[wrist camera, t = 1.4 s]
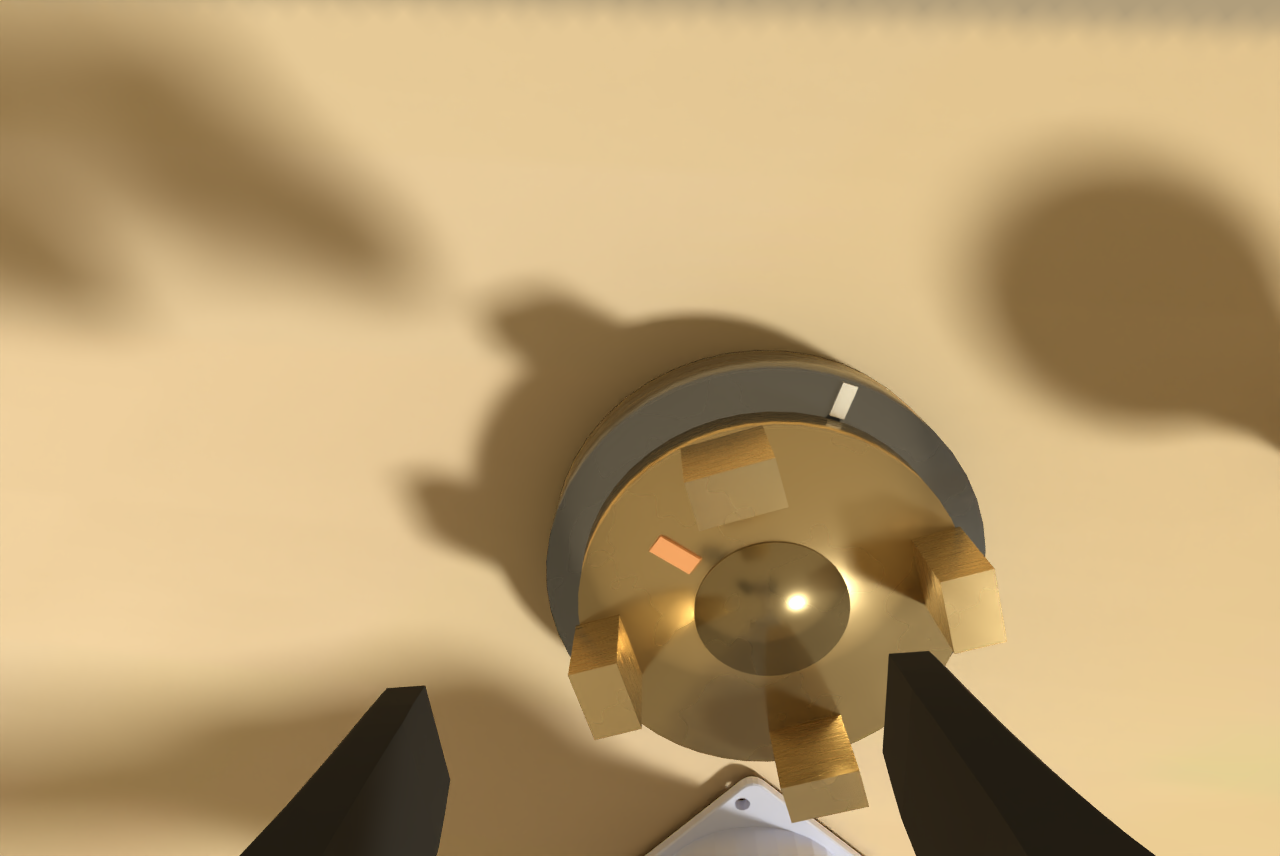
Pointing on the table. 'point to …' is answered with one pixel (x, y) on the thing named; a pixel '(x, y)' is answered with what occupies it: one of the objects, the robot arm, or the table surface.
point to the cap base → (726, 393)
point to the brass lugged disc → (771, 597)
